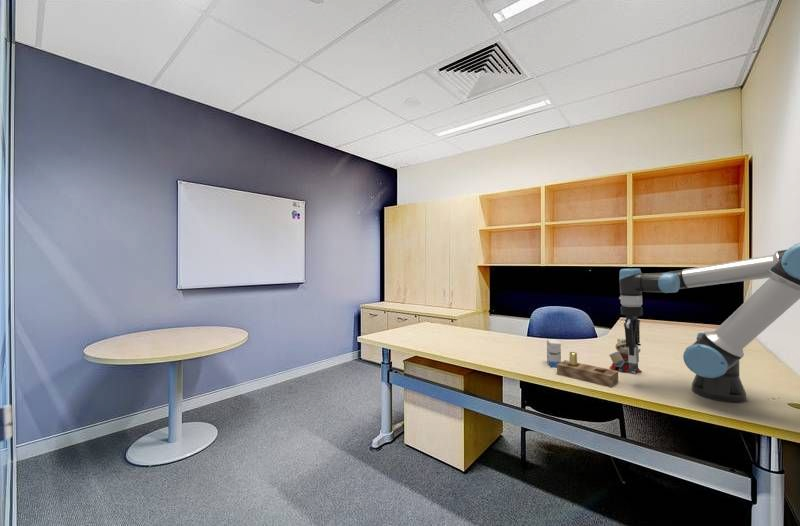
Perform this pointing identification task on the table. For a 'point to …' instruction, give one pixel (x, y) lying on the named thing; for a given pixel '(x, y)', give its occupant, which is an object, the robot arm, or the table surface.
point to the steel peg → (633, 365)
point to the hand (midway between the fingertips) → (633, 361)
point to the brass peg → (573, 359)
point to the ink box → (553, 352)
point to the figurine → (621, 357)
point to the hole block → (588, 373)
